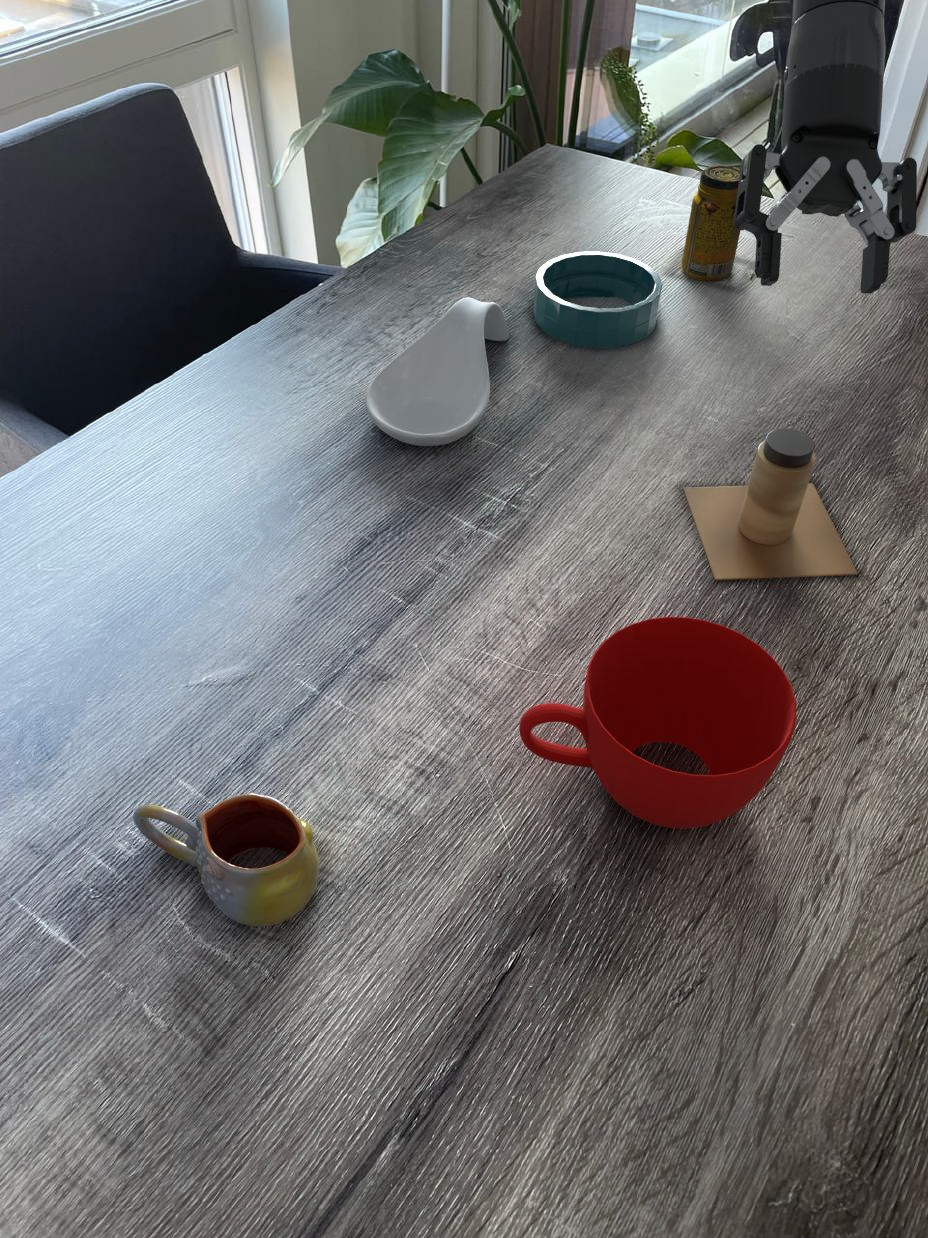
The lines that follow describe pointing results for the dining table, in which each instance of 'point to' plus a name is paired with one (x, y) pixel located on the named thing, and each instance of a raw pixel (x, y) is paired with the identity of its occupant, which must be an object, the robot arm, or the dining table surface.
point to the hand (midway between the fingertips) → (820, 287)
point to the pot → (596, 280)
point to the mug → (234, 832)
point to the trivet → (742, 558)
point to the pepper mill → (777, 486)
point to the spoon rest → (439, 378)
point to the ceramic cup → (676, 719)
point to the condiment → (713, 226)
